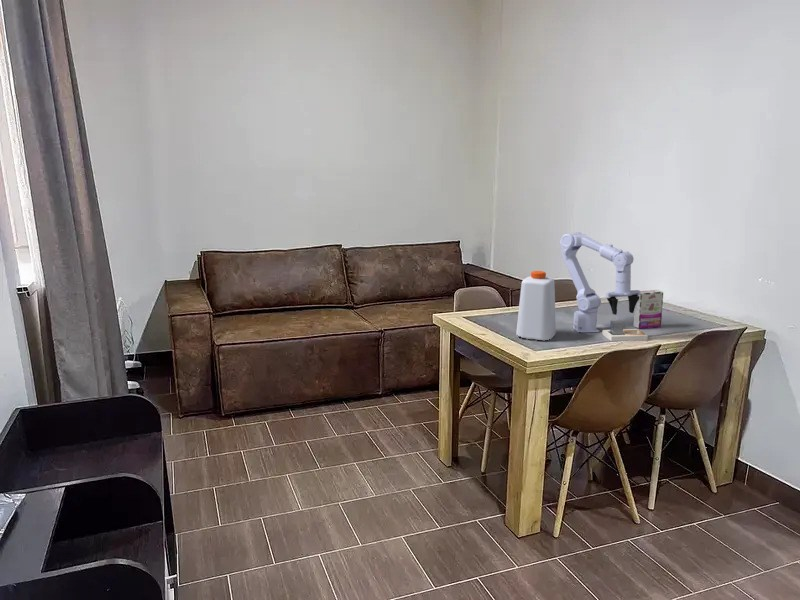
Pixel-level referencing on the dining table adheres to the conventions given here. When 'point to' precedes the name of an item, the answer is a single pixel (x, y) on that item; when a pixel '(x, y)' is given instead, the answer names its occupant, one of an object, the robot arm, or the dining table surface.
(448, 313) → the dining table surface
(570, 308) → the dining table surface
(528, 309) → the plastic bottle
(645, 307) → the candy bar box
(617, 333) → the steel block
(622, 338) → the shallow wooden tray
